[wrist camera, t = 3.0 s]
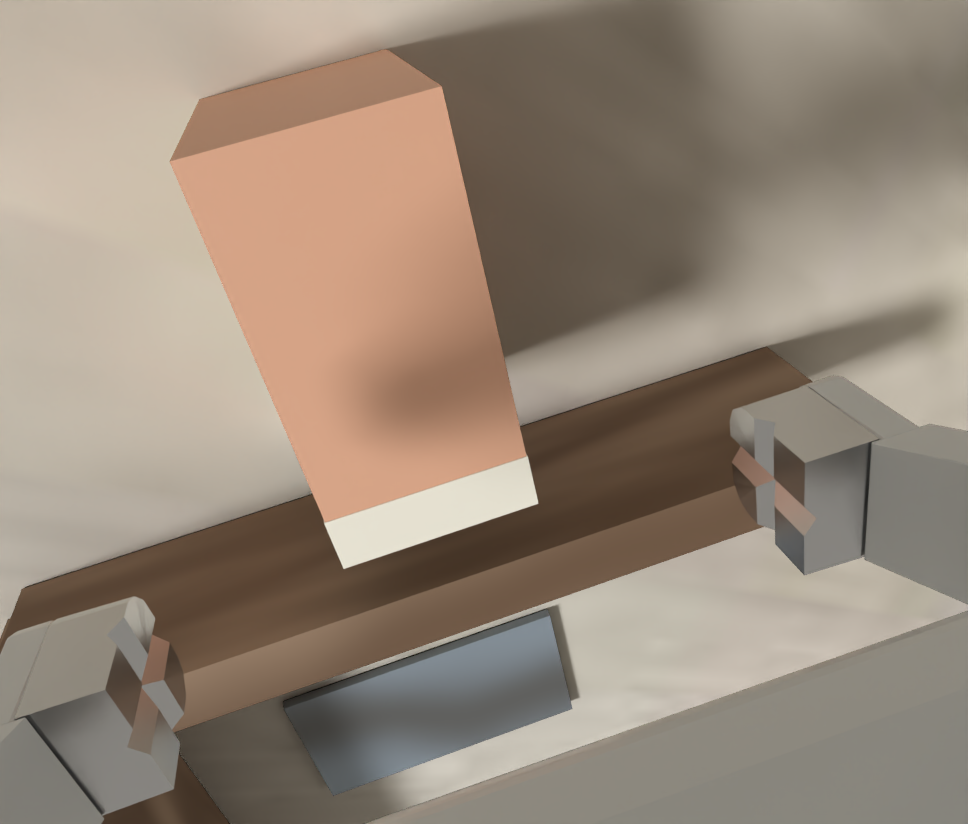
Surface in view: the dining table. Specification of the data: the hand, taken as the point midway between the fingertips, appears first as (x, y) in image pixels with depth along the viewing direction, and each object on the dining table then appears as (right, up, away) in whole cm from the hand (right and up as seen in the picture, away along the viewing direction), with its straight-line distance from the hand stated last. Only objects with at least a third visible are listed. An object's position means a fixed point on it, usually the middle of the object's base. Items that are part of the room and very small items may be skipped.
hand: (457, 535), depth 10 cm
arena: (0, -9, +17) cm, 19 cm away
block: (-3, +5, +8) cm, 10 cm away
